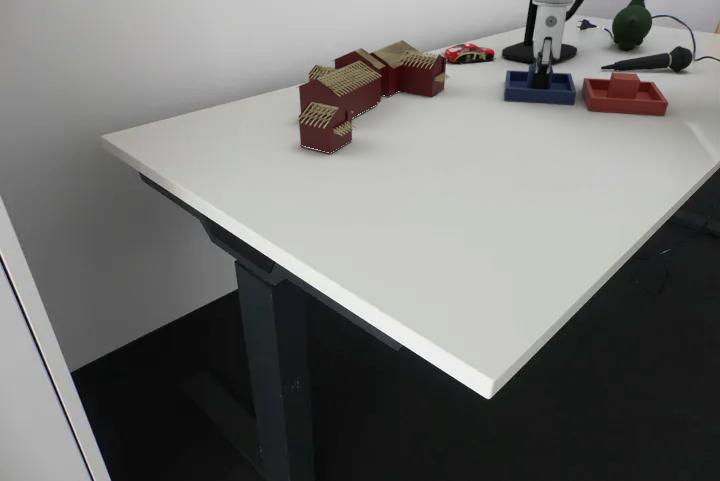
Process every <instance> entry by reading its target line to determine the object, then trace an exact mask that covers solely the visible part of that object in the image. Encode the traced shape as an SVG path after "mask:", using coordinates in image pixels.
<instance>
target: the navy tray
mask: <svg viewBox="0 0 720 481" xmlns="http://www.w3.org/2000/svg"><path fill="white" fill-rule="evenodd" d="M527 77H528V70H509V69H508V70H506V73H505V80H504V94H503V101H504V102H518V103H533V104H534V103H535V104H549V105H550V104H551V105H564V106H565V105H566V106H575V102H576V97H577V89H576V86H575V82H574V79H573V75H572V73H569V72H566V73H565V72H553V76H552V81H551V87H550V90H546V89H529V88H526V83H527Z"/></svg>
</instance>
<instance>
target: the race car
mask: <svg viewBox="0 0 720 481" xmlns="http://www.w3.org/2000/svg"><path fill="white" fill-rule="evenodd" d="M443 55H444V56H443V57H444V58H446V59H447V60H446V61H449V62H452V63H457V64H459V63H462V64H464V63H469V62H478V61H480V62H481V61H486V62H491V61H492V60H493V59H494V58H495V55H496V54H495V50H494V49H492V48H489V47H485V46H478V45H476V44H474V43H471V42H470V43H468V42H467V43H459V44H456V45H453V46H451V47H448V48H447V49H445V51H444V54H443Z"/></svg>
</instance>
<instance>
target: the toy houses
mask: <svg viewBox="0 0 720 481" xmlns="http://www.w3.org/2000/svg"><path fill="white" fill-rule="evenodd" d="M330 61H331V62H334V67H331V66H325V65H321V64H315V65H314V66H313V68H311V70H310V71H309V73H308V76H307V77H306V79H308V81H307V82H305V83H303V84H300V85H298V86H295V89H298V92H299V106H300V114H299V115H298V119H297V121H296V123H298V128H299V140H300V146H301V145H303V146H306V147H310V148H314V149H318V150H321V151H325V152H329V153H331V152H333V151H335V150H336V149H338V148H340V147H341V146H343V145H345V144H346V143H348V142H350V141H351V140H352V141H353V130H354V129H356V128H357V127H356V126H355V125H354V124H353V122H352V121H353V119H352V118H353V117H355V116H357V115H358V114H360V113H362V112H364V111H366V110H368V109H370V108H371V107H373V106H375V105H377V106H378V103H377V102H379V101H381V102H382V96H381V95H385V96H390V95H392V94H394V93H395V94H397V93H399V92H398V91H401V92H400V93H404V92H406V93H405V94H409V93H411V94H410V95H415V94H416V96H421V95H422V96H421V97H427V96H428V98H434V97H435V96H436V95H439V94H440V93H441V92H443V91H444V90H445V81H447V80H448V79H450V78H451V76H450V75H449V74H446V71H447V70H446V69H447V67H446V66H447V61H448V60H447V59H446V58H444V56H442V55H441V54H440V53H439V54H436V53H434V54H433V53H431V52H423V51H422V52H420V51H419V50H418V49H416V48H415V47H413V46H412V45H410V44H409V43H408V42H406V41H405V40H403V39H401V40H399V41H396V42H394V43H392V44H389V45H386V46H384V47H382V48H379V49H377V50H374V51H372V52H370V53H369V52H368V51H366V50H365V49H363V48H362V47H360V48H358V49H355V50H353V51H350V52H348V53H346V54H344V55H342V56H338V57H337V58H334V59H333V60H330ZM442 90H443V91H442ZM396 92H397V93H396ZM439 92H440V93H439ZM395 94H394V95H395ZM392 96H393V95H392ZM390 97H391V96H390ZM379 103H380V102H379ZM370 110H371V109H370ZM350 143H351V142H350ZM345 146H346V145H345ZM340 149H341V148H340ZM335 152H336V151H335Z"/></svg>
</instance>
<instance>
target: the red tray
mask: <svg viewBox="0 0 720 481" xmlns="http://www.w3.org/2000/svg"><path fill="white" fill-rule="evenodd" d="M609 82H610V78H608V79H607V78H592V77H591V78H589V77H584V78H583V81H582V86H581V93H582V96H583V99H584V102H585V105H586V109H587V111H588V112H599V113H612V114H613V113H616V114H630V115H644V116H645V115H646V116H658V115H659V116H661V117H666V116H665V115H666V112H667V109H668V106H669V101H668V99H667V98H666V97H665V95H664V94H663V93H662V92H661V90H660V89H659V87H658V86H657V85H656V83H655V82H654V81H649V80H648V81H647V80H646V81H645V80H643V81H642V80H640V84H639V88H638V92H637V95H636V99H621V98H608V97H607V91H608V86H609Z"/></svg>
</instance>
